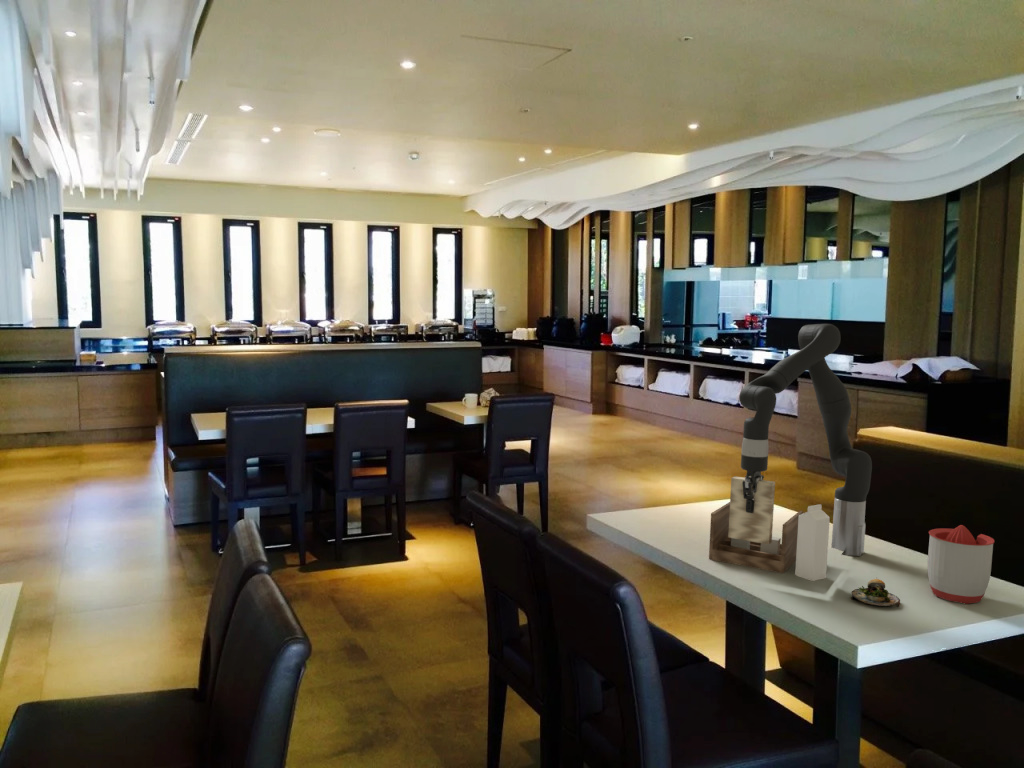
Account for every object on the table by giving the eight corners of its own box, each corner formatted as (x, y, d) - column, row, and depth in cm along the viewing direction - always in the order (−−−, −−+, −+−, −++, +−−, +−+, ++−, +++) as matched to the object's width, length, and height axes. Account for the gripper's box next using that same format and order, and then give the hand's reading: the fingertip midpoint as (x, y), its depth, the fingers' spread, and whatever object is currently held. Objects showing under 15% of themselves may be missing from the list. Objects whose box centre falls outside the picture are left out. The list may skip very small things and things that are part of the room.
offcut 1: (749, 555, 249) (750, 533, 249) (746, 557, 247) (747, 535, 246) (733, 552, 252) (734, 530, 251) (730, 554, 250) (731, 532, 249)
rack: (800, 560, 250) (803, 511, 249) (783, 578, 233) (786, 525, 232) (729, 547, 262) (731, 500, 260) (708, 563, 245) (711, 513, 244)
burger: (843, 601, 217) (845, 573, 216) (861, 591, 225) (863, 564, 224) (889, 614, 208) (891, 585, 208) (906, 603, 217) (909, 575, 216)
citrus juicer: (999, 596, 223) (1005, 524, 221) (979, 612, 210) (985, 536, 209) (937, 581, 234) (943, 513, 232) (915, 595, 222) (920, 523, 220)
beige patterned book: (771, 542, 239) (775, 481, 238) (768, 544, 237) (772, 483, 235) (731, 534, 246) (734, 476, 244) (728, 537, 243) (731, 477, 242)
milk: (825, 583, 230) (831, 506, 228) (812, 586, 227) (817, 509, 225) (807, 576, 235) (812, 501, 233) (793, 579, 232) (799, 504, 230)
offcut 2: (779, 560, 245) (780, 538, 244) (776, 563, 242) (778, 540, 241) (762, 557, 247) (763, 535, 247) (759, 560, 245) (761, 537, 244)
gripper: (760, 458, 231) (757, 518, 233) (774, 451, 243) (770, 508, 244) (734, 455, 235) (731, 514, 237) (749, 448, 247) (746, 504, 248)
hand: (751, 511), depth 241 cm, fingers closed on beige patterned book, 3 cm apart
